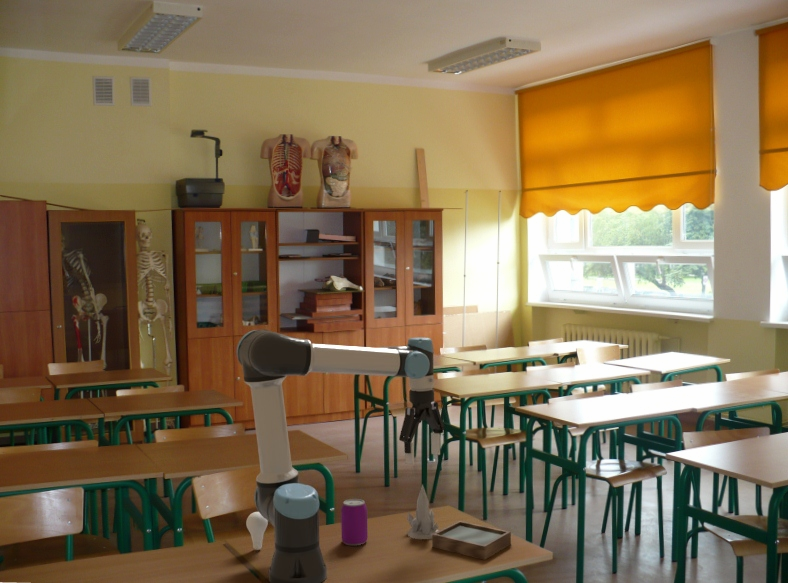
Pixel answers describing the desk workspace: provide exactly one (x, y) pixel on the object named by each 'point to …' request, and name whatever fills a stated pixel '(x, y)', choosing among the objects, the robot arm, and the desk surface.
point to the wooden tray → (471, 539)
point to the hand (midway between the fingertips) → (423, 459)
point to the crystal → (422, 519)
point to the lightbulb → (256, 528)
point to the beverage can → (354, 522)
